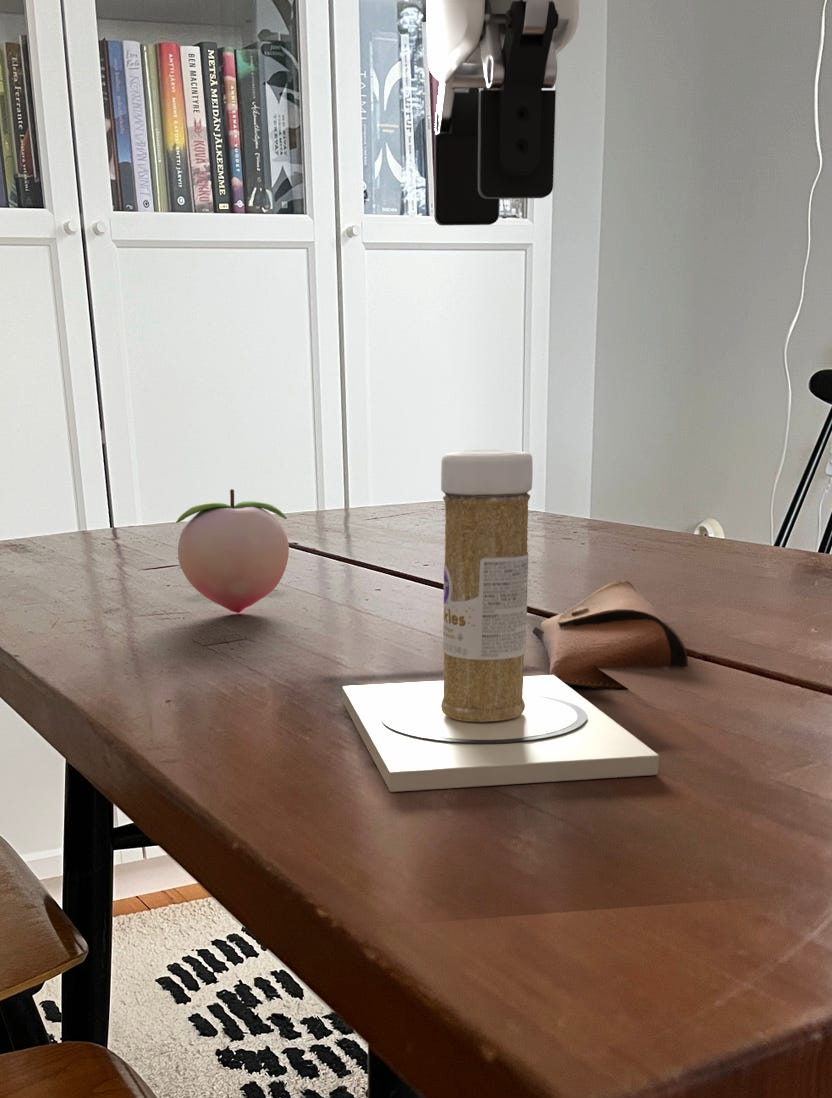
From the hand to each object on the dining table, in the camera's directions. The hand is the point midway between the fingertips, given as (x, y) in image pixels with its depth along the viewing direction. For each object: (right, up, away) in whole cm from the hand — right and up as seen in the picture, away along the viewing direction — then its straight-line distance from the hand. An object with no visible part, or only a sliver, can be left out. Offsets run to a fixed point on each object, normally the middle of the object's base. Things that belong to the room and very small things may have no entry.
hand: (489, 211), depth 59 cm
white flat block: (+1, -24, +9) cm, 25 cm away
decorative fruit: (-16, -10, +47) cm, 50 cm away
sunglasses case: (+10, -17, +26) cm, 33 cm away
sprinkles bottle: (+1, -23, +9) cm, 24 cm away
